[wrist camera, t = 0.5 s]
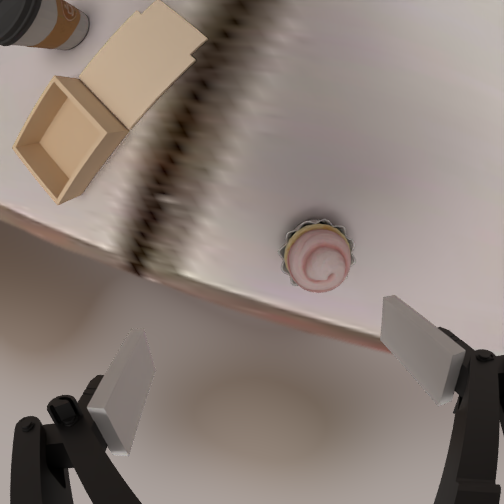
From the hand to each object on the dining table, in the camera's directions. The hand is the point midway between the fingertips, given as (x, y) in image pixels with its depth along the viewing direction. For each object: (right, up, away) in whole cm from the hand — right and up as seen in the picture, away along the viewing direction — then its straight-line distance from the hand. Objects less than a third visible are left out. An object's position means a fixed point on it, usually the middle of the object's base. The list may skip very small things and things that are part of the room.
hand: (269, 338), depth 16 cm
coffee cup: (-27, +37, +14) cm, 48 cm away
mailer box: (-20, +25, +18) cm, 37 cm away
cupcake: (+7, +6, +24) cm, 26 cm away
